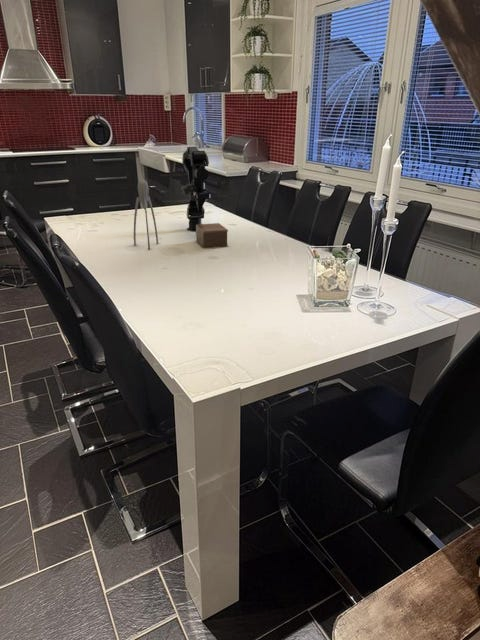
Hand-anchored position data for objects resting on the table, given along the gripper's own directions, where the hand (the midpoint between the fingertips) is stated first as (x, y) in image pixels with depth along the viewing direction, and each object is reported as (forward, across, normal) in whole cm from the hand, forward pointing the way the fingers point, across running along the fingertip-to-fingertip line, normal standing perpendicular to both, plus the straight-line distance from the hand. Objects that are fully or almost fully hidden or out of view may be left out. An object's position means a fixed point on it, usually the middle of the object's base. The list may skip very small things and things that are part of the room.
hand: (199, 210), depth 232 cm
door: (+6, +16, +1) cm, 17 cm away
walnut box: (+13, +16, +1) cm, 20 cm away
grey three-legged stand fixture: (+13, +10, -30) cm, 34 cm away
